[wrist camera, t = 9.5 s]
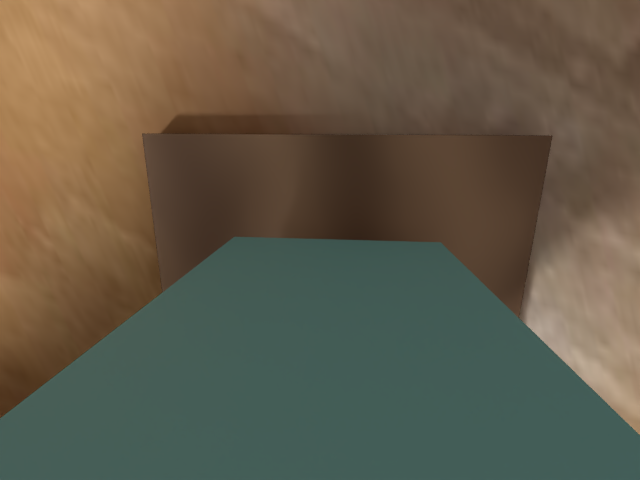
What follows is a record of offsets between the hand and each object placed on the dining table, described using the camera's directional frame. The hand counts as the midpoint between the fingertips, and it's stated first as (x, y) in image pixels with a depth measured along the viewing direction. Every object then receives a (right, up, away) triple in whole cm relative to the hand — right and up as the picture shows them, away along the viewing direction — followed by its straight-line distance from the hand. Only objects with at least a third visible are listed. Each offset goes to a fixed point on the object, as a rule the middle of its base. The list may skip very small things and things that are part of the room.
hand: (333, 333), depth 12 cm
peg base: (0, +1, +4) cm, 4 cm away
